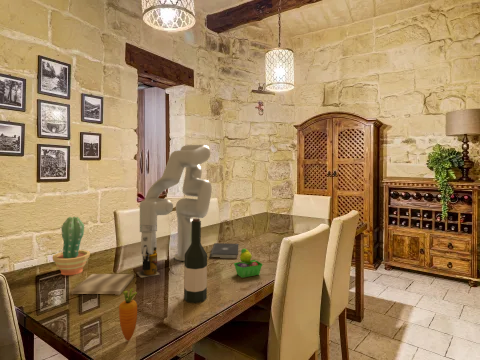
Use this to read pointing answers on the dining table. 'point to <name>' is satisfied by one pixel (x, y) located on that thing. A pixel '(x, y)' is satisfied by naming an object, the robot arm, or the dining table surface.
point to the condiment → (152, 266)
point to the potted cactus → (71, 248)
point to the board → (103, 284)
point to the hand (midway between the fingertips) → (148, 266)
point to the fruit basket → (247, 265)
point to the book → (224, 250)
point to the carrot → (128, 315)
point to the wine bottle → (195, 267)
